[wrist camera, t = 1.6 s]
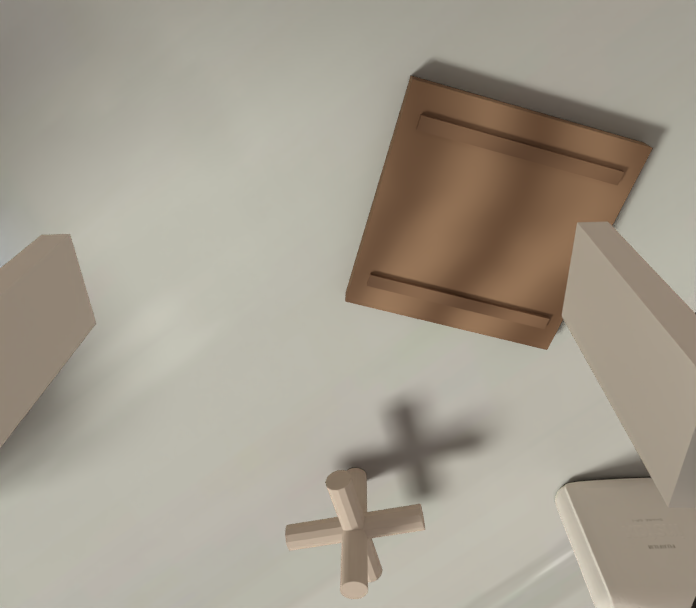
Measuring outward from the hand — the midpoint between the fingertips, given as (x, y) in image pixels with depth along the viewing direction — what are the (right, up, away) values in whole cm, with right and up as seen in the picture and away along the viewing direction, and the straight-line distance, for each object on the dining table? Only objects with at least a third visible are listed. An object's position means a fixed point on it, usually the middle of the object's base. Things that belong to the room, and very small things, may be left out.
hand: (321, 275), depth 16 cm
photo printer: (+23, -16, +32) cm, 42 cm away
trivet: (+9, +4, +21) cm, 23 cm away
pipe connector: (+1, -14, +32) cm, 35 cm away
